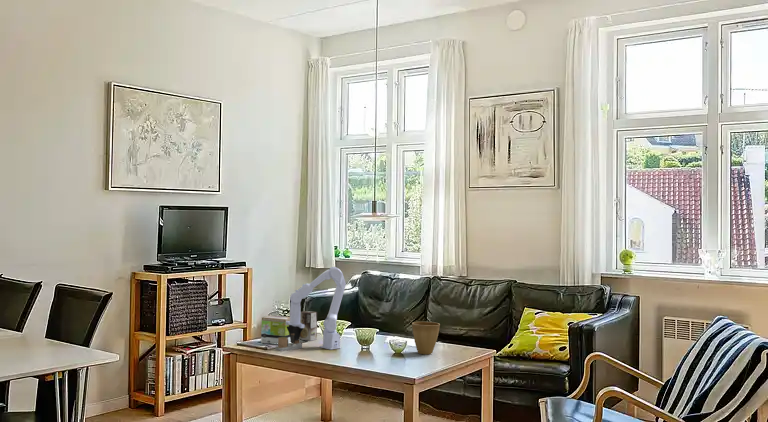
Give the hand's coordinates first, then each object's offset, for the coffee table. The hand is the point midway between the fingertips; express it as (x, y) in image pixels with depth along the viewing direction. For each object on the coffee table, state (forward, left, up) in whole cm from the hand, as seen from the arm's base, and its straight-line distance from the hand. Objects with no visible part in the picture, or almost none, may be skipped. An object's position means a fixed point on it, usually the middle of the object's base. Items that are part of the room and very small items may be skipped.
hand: (294, 339), depth 380 cm
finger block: (0, 0, -2) cm, 2 cm away
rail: (0, +4, -4) cm, 6 cm away
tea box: (+19, -1, -5) cm, 20 cm away
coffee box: (+18, -22, -5) cm, 29 cm away
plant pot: (-53, -47, -5) cm, 71 cm away
